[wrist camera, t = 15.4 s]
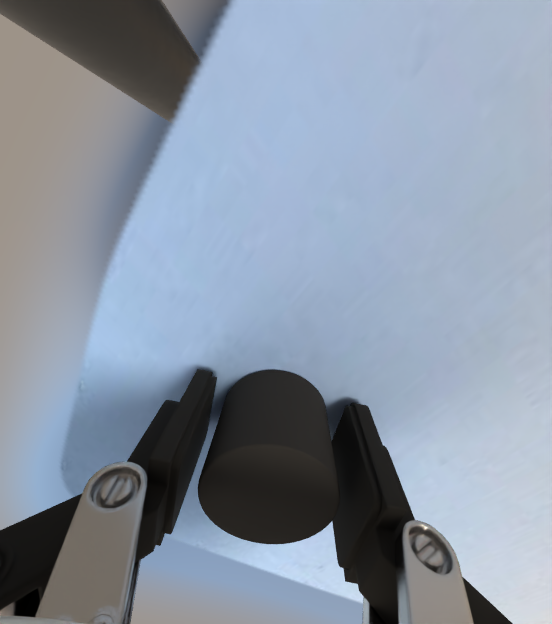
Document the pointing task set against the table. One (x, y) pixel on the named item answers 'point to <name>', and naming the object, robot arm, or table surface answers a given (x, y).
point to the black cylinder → (271, 461)
